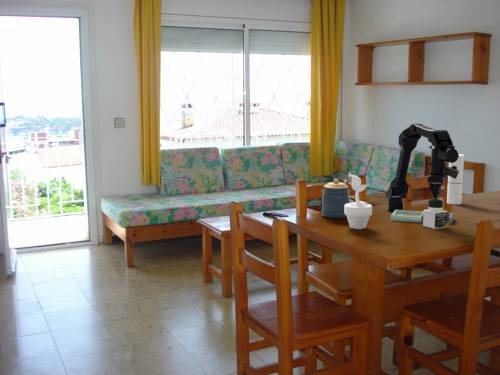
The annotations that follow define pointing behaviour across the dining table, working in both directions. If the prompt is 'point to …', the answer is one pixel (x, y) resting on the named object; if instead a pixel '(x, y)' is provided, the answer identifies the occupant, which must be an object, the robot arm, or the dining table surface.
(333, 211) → the canister
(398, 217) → the tray
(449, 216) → the dock
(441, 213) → the medicine bottle
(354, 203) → the potted plant
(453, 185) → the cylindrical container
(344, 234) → the dining table surface
